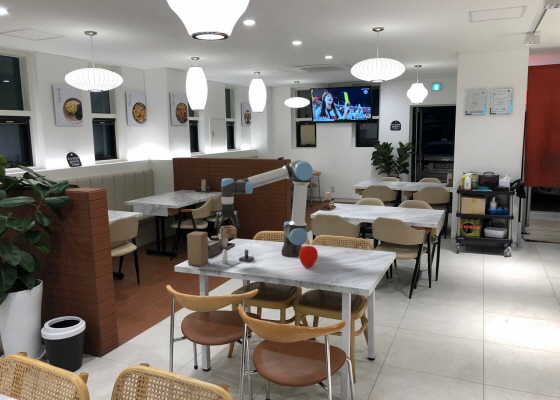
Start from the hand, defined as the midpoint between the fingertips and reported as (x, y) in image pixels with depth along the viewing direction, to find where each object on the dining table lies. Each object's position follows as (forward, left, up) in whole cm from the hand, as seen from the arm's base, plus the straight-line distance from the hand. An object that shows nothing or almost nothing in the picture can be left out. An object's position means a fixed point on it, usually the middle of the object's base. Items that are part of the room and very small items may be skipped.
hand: (227, 238), depth 283 cm
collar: (0, 0, +1) cm, 1 cm away
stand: (-6, -12, -16) cm, 21 cm away
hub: (+1, +2, -17) cm, 17 cm away
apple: (-48, -18, -17) cm, 54 cm away
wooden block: (+17, +9, -17) cm, 25 cm away
